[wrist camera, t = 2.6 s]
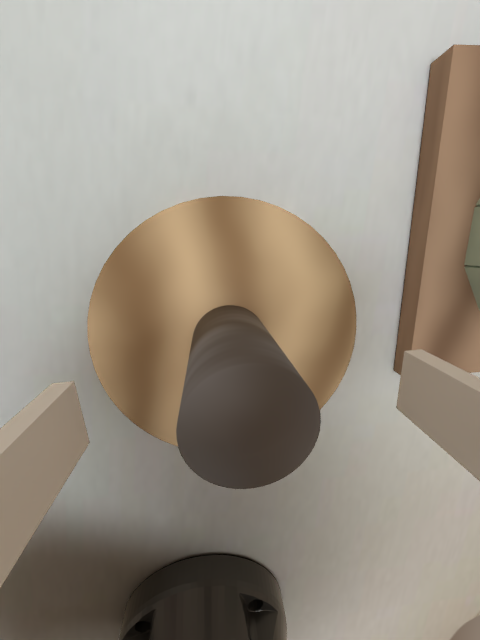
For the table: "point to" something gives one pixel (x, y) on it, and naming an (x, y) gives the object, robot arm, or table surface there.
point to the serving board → (445, 218)
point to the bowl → (474, 255)
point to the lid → (224, 335)
